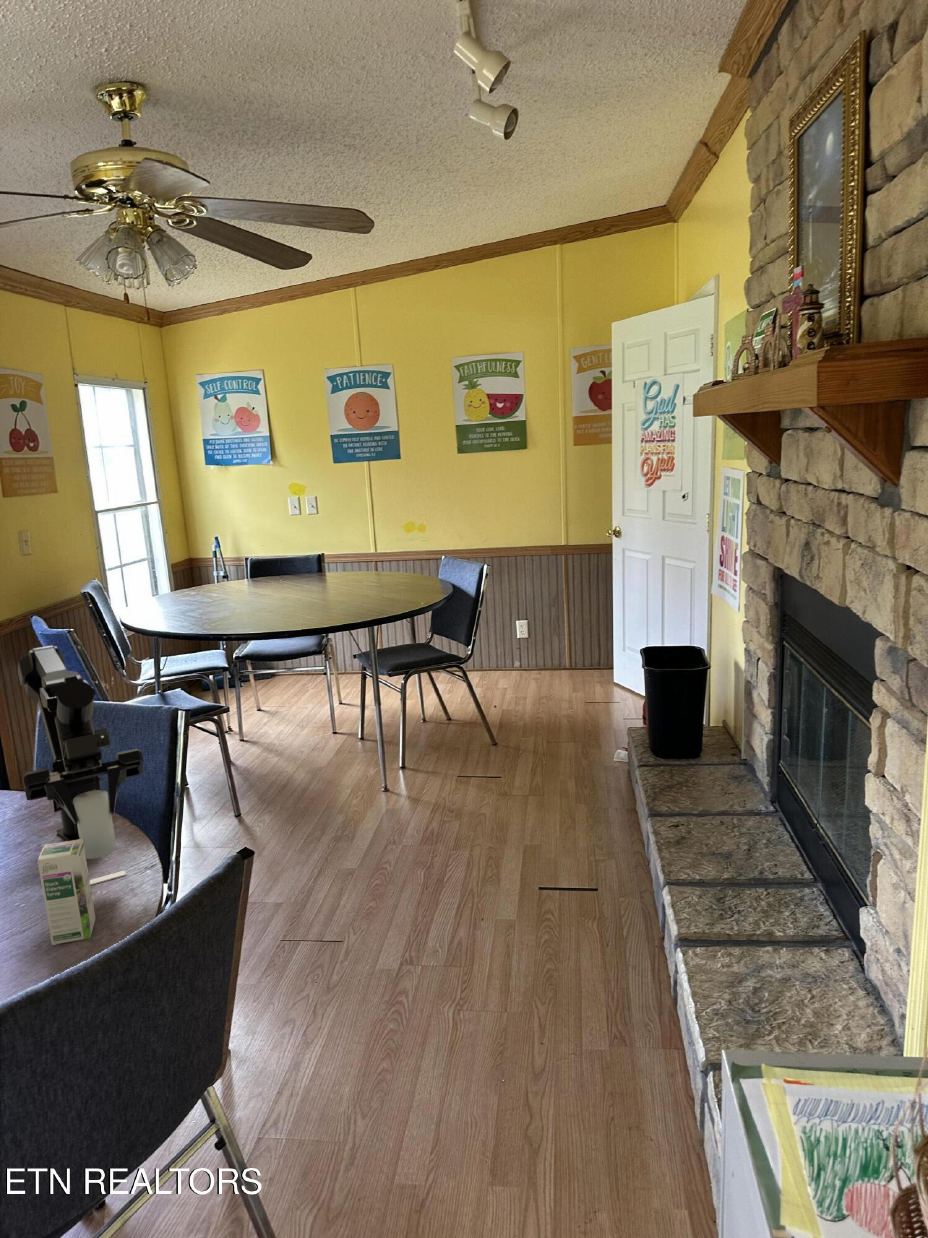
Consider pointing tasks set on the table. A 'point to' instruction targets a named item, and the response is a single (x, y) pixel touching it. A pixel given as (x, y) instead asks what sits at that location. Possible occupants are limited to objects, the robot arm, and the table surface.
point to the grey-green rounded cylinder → (95, 823)
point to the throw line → (107, 877)
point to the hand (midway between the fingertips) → (94, 818)
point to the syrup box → (66, 891)
